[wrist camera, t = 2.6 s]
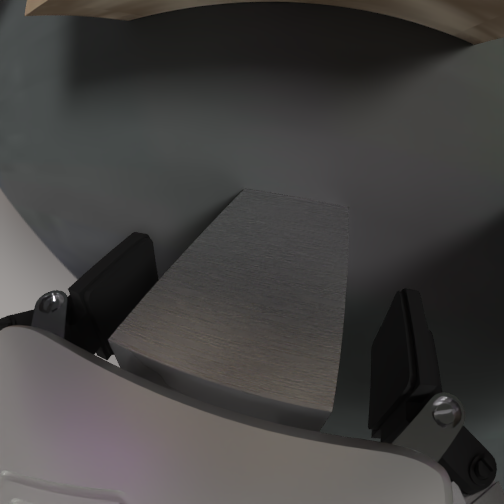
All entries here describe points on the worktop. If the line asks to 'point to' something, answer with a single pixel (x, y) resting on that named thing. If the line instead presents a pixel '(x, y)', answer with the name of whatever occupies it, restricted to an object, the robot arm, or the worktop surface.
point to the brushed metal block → (250, 312)
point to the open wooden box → (388, 3)
